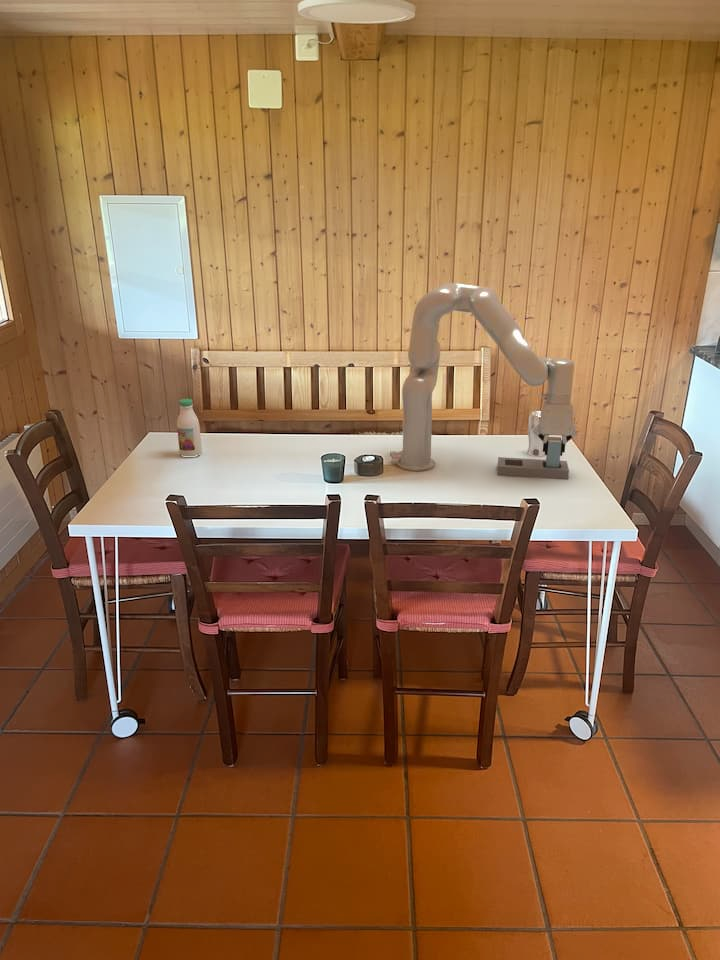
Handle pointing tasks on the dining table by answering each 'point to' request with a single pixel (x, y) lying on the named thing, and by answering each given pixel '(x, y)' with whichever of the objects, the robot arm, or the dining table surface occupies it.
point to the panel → (531, 468)
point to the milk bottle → (188, 430)
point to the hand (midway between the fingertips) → (553, 453)
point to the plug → (553, 452)
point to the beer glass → (534, 440)
